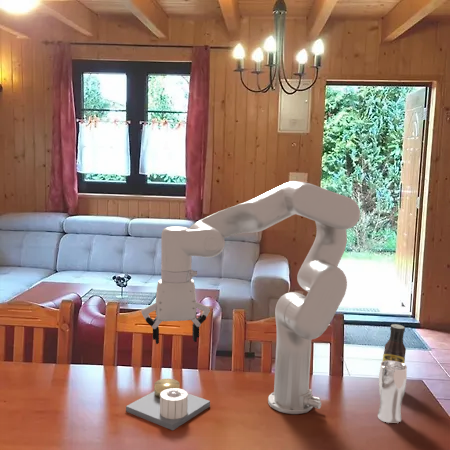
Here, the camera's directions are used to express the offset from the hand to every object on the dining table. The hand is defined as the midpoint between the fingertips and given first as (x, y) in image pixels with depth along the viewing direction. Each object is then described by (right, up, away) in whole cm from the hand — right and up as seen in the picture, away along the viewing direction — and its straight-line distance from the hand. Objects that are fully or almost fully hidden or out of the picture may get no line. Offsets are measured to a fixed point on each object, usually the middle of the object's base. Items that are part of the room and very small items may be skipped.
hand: (175, 341), depth 136 cm
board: (-3, -20, +8) cm, 21 cm away
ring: (-1, -19, +3) cm, 19 cm away
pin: (-1, -19, +3) cm, 19 cm away
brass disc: (-4, -18, +13) cm, 22 cm away
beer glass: (+57, -22, +7) cm, 61 cm away
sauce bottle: (+63, -20, +24) cm, 70 cm away
